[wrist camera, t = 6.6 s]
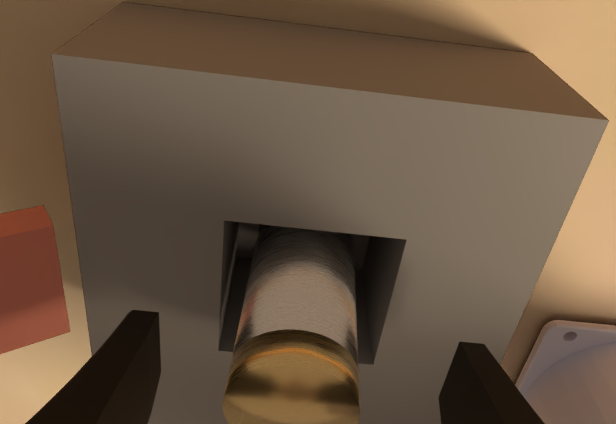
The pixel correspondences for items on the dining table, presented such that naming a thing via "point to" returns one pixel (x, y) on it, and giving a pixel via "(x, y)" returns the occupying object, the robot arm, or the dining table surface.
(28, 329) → the bar
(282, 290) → the pin
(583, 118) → the pin block
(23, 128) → the dining table surface
